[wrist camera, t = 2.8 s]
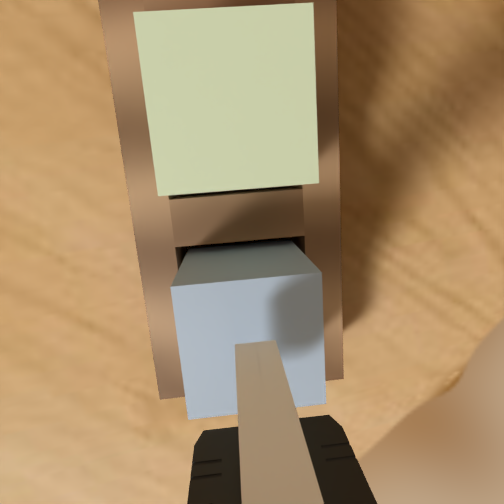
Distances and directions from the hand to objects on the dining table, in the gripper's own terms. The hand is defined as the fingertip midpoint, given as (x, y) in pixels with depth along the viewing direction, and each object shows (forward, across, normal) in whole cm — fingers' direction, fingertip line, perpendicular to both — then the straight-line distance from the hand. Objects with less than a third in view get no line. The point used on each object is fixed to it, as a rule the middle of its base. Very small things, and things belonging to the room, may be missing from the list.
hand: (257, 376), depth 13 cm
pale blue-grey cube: (+9, 0, 0) cm, 9 cm away
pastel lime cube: (+9, 0, +10) cm, 13 cm away
